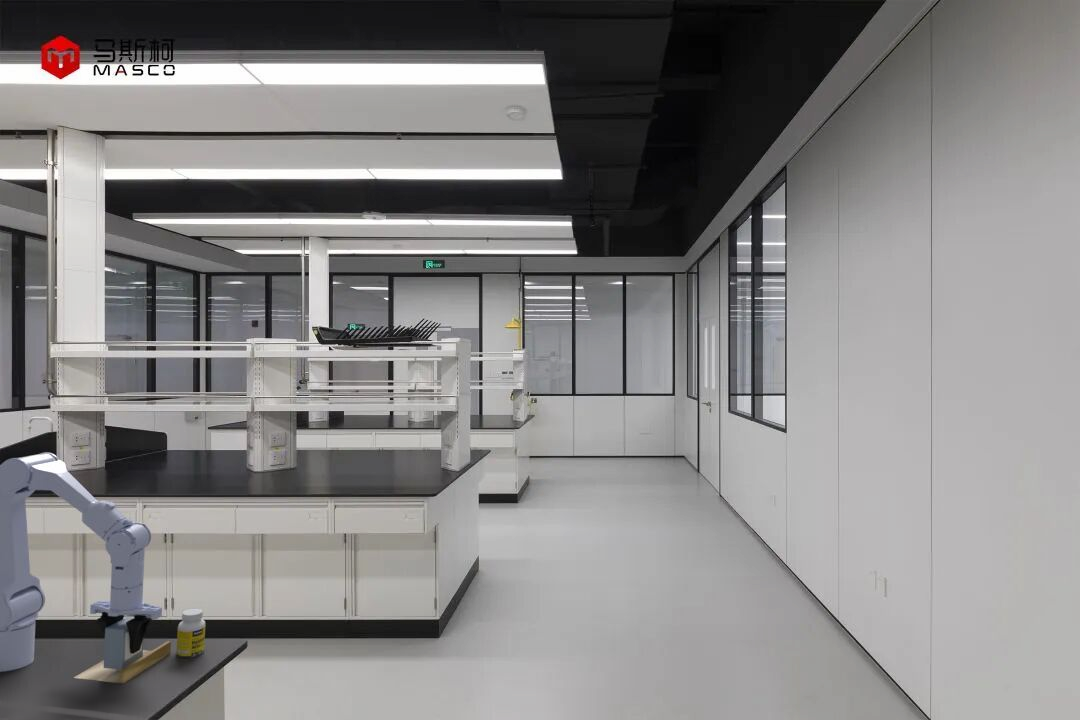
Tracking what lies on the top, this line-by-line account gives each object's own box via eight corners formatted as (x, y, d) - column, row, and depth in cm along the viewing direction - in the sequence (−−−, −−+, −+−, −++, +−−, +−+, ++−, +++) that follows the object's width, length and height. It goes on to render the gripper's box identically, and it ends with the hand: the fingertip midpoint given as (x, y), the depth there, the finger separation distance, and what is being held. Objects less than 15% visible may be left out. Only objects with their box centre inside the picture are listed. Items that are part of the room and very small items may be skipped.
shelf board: (72, 681, 134) (73, 665, 134) (124, 651, 148) (124, 636, 148) (123, 687, 133) (124, 670, 133) (170, 656, 147) (171, 641, 147)
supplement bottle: (192, 663, 144) (194, 617, 144) (170, 659, 146) (172, 614, 146) (209, 652, 150) (211, 608, 150) (188, 649, 151) (190, 605, 151)
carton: (103, 667, 136) (105, 628, 136) (125, 655, 142) (126, 617, 142) (122, 669, 135) (124, 630, 135) (143, 656, 141) (145, 618, 141)
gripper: (79, 588, 135) (76, 655, 135) (146, 594, 134) (143, 662, 134) (106, 576, 142) (103, 640, 142) (169, 582, 141) (167, 647, 141)
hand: (124, 650), depth 139 cm, fingers closed on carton, 4 cm apart
